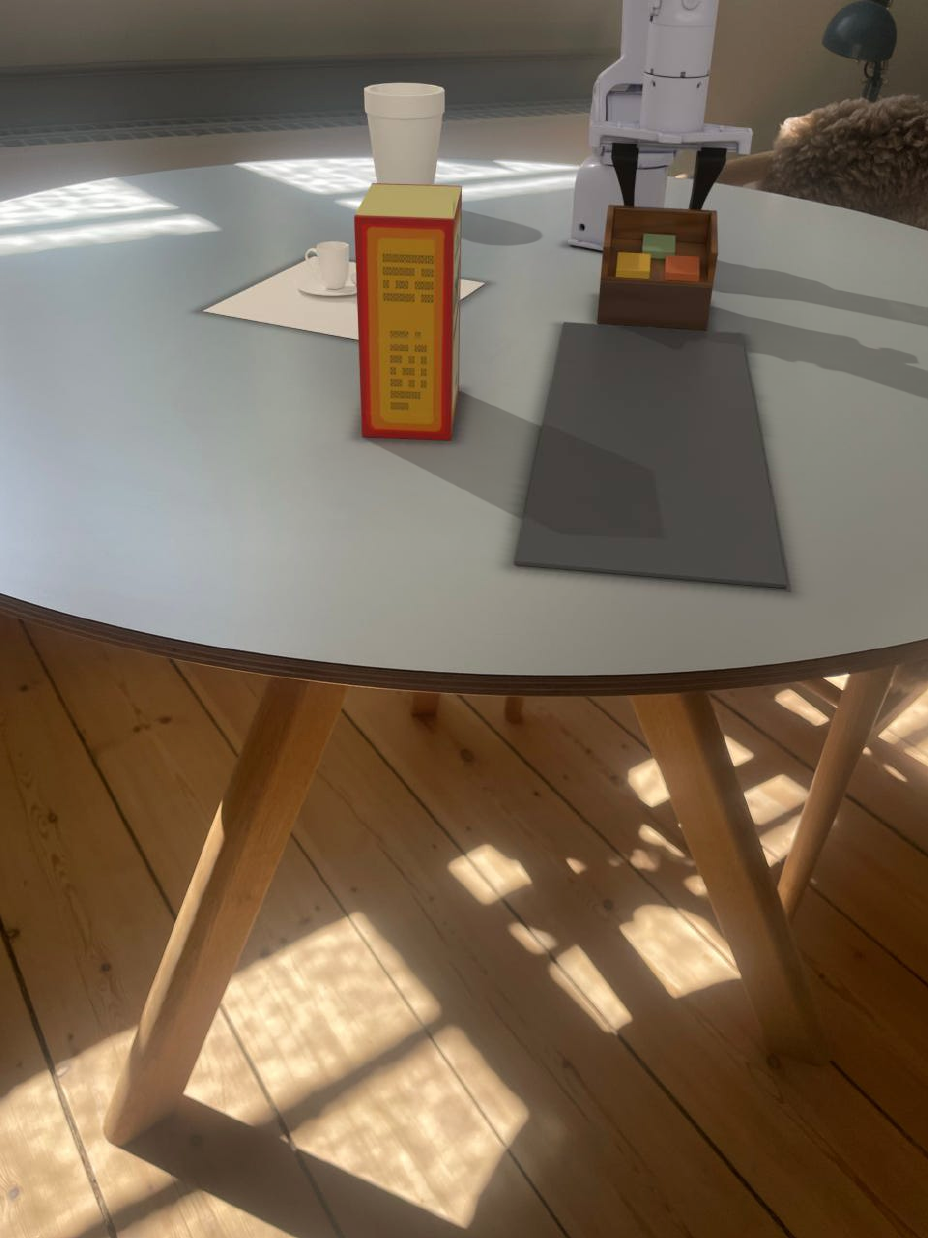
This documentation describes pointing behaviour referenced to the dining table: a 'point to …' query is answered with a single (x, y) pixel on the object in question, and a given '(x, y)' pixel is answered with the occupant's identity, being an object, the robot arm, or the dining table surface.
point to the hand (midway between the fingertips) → (659, 230)
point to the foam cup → (405, 130)
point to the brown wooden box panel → (654, 304)
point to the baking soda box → (409, 309)
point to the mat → (651, 461)
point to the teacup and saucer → (309, 295)
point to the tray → (687, 225)
